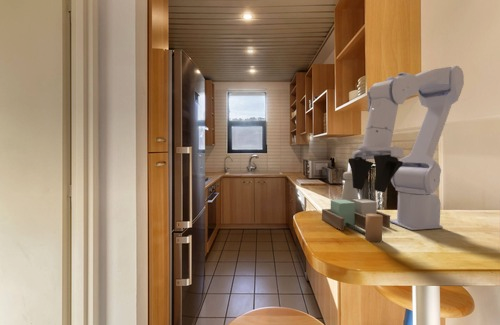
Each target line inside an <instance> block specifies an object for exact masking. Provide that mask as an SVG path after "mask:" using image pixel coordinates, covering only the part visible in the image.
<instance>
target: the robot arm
mask: <svg viewBox="0 0 500 325" xmlns="http://www.w3.org/2000/svg"><path fill="white" fill-rule="evenodd" d="M464 75H465V74H464V71H463V69H462V68H461V67H460V66H458V65H454V66H447V67H446V66H445V67H441V68H439V67H438V68H434V69H430V70H426V71H421V72H419V73H417V74H413V73H407V72H406V71H402V72H399V73H397V76H390V77H387V78H386V80H383V81H379V82H375V83H373V84H372V86H370V87H369V89H368V90H367V92H366V100H367V107H366V108H367V112H368V116H367V120H366V126H365V132H364V135H363V136H364V137H363V142H362V145H360V146H358V147H357V150H354V151H352V153H351V157H350V158H349V157H348V159H347V160H348V161H347V162H348V164H349V166H350V172H352V180H353V188H356V189H357V190H363V188H364V186H365V183H366V179H367V177H368V173H369V171H370V170H371V168H372V166H373V165H374V167H375V176H374V185H373V188H374V191H376V192H379V193H380V192H381V193H386V191H387V190H388V186H389V184H390V183H391V185H392V186H393V188H395V191H397V209H396V210H397V212H396V213H397V214H396V219H390V223H393V224H395V225H397V226H400V227H403V228H404V229H409V230H411V231H419V230H432V229H434V230H435V229H443V225H440V224H441V208H442V207H441V200H440V197H439V196H438V195H437V194H436V193H435V191H437V190H438V188H439V185H440V183H441V182H440V181H441V173H442V169H441V166H440V164H439V163H438V162H437V161H436V160H435V159H434V155H435V153H436V150H437V147H438V145H439V142H440V139H441V135H442V134H443V131H444V127H445V125H446V123H447V120H448V116H449V114H450V111H451V108H452V105H453V104H455V103H457V102H458V101H459V99H460V96H461V94H462V91H463V88H464V85H465V84H464V82H465V81H464V80H465V79H464V77H465V76H464ZM416 94H417V96H418V99H419V101H420V105H421V106H423V107H426V108H427V110H426V113H425V115H424V118H423V120H422V123H421V126H420V128H419V131H418V133H417V136H416V139H415V141H414V144H413V146H412V149H411V151H410V154H409V155H406V156H404V152H405V149H404V148H402V147H399V146H391V145H392V140H393V134H394V129H395V124H396V118H397V115H398V114H397V113H398V109H399V105H403V104H404V103H405V102H406V99H408V98H410V97H413V96H414V95H416ZM403 156H404V157H403ZM370 160H374V162H373V161H370Z"/></svg>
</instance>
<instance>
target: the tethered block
mask: <svg viewBox="0 0 500 325" xmlns="http://www.w3.org/2000/svg"><path fill="white" fill-rule="evenodd" d="M330 209H331V212H332V213H334V214H336V215H338V216H340V217H342V218H344V227H348V228H351V229H353V230H356V231H357V232H359V233H361V234H363V235H364V237H365V238H364V239H365V240H366V241H368V242H371V243H382V242H381V241H383V216H382V215H379V214H366V229H365V230H364V229H363V230H362V228H360V227H356V226H355V224H354V221H355V203H354V202H351V201H348V200H341V199H332V200H330Z"/></svg>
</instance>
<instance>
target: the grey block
mask: <svg viewBox="0 0 500 325" xmlns="http://www.w3.org/2000/svg"><path fill="white" fill-rule="evenodd" d="M352 202H354V203H355V212H357V213H359V214H361V215H364V216H366V214H377V211H378V210H377V208H378V207H377V206H378V202H377V201H375V200H371V199H369V198H359V199H352Z"/></svg>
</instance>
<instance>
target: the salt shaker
mask: <svg viewBox="0 0 500 325" xmlns="http://www.w3.org/2000/svg"><path fill="white" fill-rule="evenodd" d="M342 179H344V183H343V188H342V193H341V198H340V200H348V201H351V202H352V199H360V198H359V192H358V189H356V188H353V180H352V171H345V172H343V174H342Z"/></svg>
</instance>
